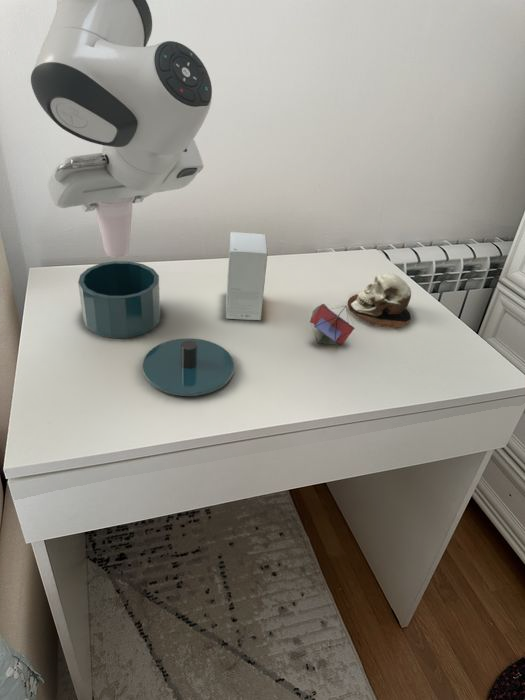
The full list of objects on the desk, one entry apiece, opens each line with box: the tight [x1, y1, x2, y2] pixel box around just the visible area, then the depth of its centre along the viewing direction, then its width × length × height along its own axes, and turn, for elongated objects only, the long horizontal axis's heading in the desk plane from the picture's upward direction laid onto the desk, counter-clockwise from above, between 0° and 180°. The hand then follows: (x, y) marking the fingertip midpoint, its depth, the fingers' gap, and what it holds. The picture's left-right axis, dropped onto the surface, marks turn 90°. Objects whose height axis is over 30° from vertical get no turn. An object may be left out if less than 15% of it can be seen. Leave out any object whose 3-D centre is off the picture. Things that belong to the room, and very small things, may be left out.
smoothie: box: [94, 196, 135, 258], centre depth 80 cm, size 6×6×14 cm
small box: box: [225, 231, 269, 321], centre depth 93 cm, size 8×6×13 cm
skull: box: [347, 272, 412, 329], centre depth 99 cm, size 12×10×10 cm
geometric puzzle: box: [309, 303, 356, 346], centre depth 89 cm, size 7×7×8 cm
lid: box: [142, 337, 235, 397], centre depth 80 cm, size 14×14×5 cm
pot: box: [77, 260, 161, 339], centre depth 89 cm, size 13×13×8 cm
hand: (111, 202), depth 80 cm, fingers closed on smoothie, 6 cm apart
